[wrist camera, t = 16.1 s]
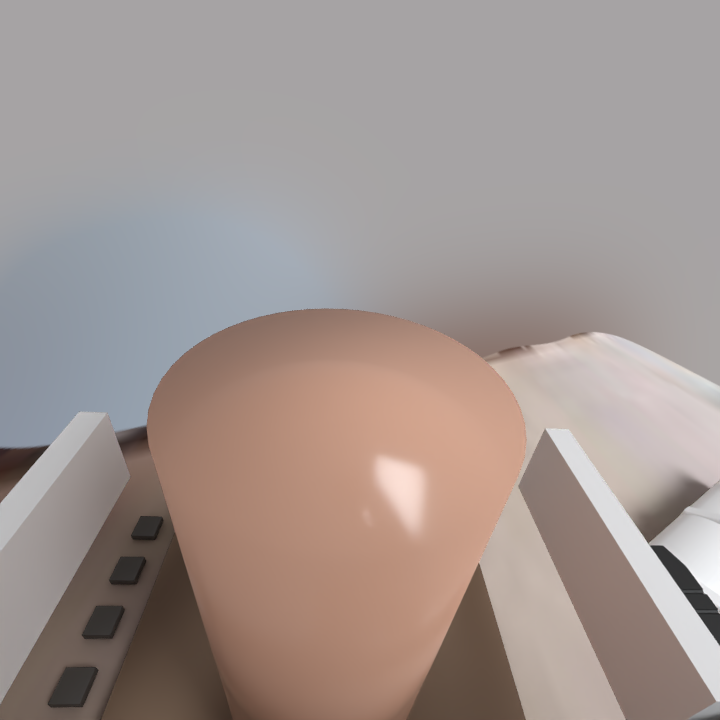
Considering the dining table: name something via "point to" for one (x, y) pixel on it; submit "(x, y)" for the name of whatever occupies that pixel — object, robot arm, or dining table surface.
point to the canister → (331, 502)
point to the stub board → (201, 678)
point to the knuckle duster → (698, 541)
